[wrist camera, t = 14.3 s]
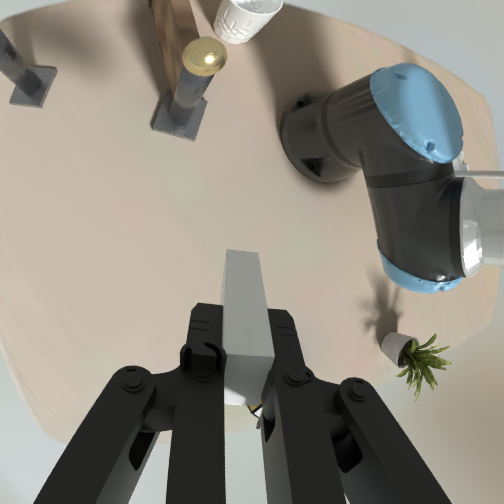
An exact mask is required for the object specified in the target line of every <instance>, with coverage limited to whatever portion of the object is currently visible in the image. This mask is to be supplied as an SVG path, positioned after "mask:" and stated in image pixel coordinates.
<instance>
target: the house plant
mask: <svg viewBox="0 0 504 504" xmlns="http://www.w3.org/2000/svg"><path fill="white" fill-rule="evenodd" d="M435 339H436V334H434V335H433V336H432V338H431V339H430V340H429V341H428V342H427V343H426V344H424V345H422V346H419V342H418V339H417V338H415V337H411V336H407V335H403V334H399V333H396V332H390V333H388V334H387V335H386V336H385V337H384V339H383V341H382V343H381V351H382V352H383V353H384V354H385V355H386V356H387V357H388V358H389V359H390V360H391V361H392V362H393V363H395V364H396V365H397V366H398V367H399V368H404V367H406V366H408V367H407V369H406V370H403V371H402V372H401V373H400V374H399V375H397V377H402V376H404V375H405V374H406V373H407V372H408V370H409V373H408V378H407V383H406V384H408V383H409V382H410V385H409V387H410V386H411V384H412V383H413V382H414V381H416V379H417V382H416V383H415V384H414V385H413V386H415V385H416V384H417V390H416V392H417V391H418V394H417V397H416V400H417V398H418V396H419V393H420V389H421V382H422V378H423V375H424V377H425V379H426V381H427V382H428V383H429V384H430V386H431V389H432V390H433V387H434V384H433V382H434V383H435V384H436V385H437V382H436V380H435V378H434V376H433V374H432V372H431V370H430V369H429V367H428V366H430V367H432V368H437V369H442V370H446V369H445V368H443V367H441V366H442V365H450V364H452V363H451V362H449V361H446V360H443V359H441V358H439V357H436V356H434V355H432V354H435V353H439V352H442V351H444V350H446V349H447V348H449V347H450V346H451V345H450V346H447V347H445V348H440V349H437V350H433V348H434V347H433V346H431V348H430V349H431V350H429V349H426V350H418V349H422V348H425V347H427V346H429V345H431V344H432V343H433V342H434V341H435ZM439 344H440V343H439ZM439 344H438V345H439ZM438 345H436V346H438ZM436 346H435V347H436ZM439 356H440V355H439ZM427 365H428V366H427ZM412 367H413V369H412ZM418 367H419V368H418ZM419 369H420V371H421V376H420V372H419ZM413 370H414V372H413ZM413 373H415V377H414V380H413V382H412V377H413ZM416 392H415V394H416Z"/></svg>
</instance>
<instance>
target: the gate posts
mask: <svg viewBox="0 0 504 504" xmlns="http://www.w3.org/2000/svg"><path fill="white" fill-rule="evenodd" d="M182 59H183V67H182V70H181V74H180V77H179V80H178V84H177V87H176V91H175V95H174V98H173V97H172V93H171V90H167V91H166V93H165V96H164V99H163V101H162V104H161V107H160V109H159V112H158V115H157V117H156V120H155V123H154V126H153V130H154V131H158V132H162V133H166V134H170V135H173V136H177V137H181V138H184V139H188V140H191V141H195V138H196V135H197V132H198V129H199V126H200V123H201V120H202V117H203V114H204V111H205V108H206V105H207V102H208V101H206V100H203V99H201V98H202V96H203V94H204V92H205V90H206V89H207V87H208V85H209V83H210V82H211V80H212V78H213V76H214V75H215V74H216V73H217V72H219V71H220V70H221V69H222V68H223V66H224V65H225V63H226V60H227V51H226V48H225V47H224V45H223V44H222V43H221V42H220V41H219V40H217V39H215V38H212V37H200V38H197V39H194V40H193V41H191V42H190V43H189V44H188V45H187V46H186V48H185V49H184V52H183V58H182ZM0 71H1V72H2V73H3V74H4V75H5V76H6V77H8V78H9V79H10V80H11V81H12V82H13V83H14V84H15V85H16V87H15V90H14V92H13V94H12V97H11V99H10V102H9V103H10V104H12V105H20V106H29V107H36V108H42V106H43V103H44V101H45V98H46V96H47V94H48V91H49V89H50V87H51V84H52V82H53V80H54V78H55V76H56V73H57V70H56V69H51V68H40V67H30V66H29V65H28V64H27V63H26V61H25V60H24V59H23V58H22V56H21V55H20V54H19V52H18V51H17V50H16V49H15V47H14V46H13V45H12V44H11V42H10V41H9V40H8V38H7V37H6V36H5V34H4V33H3V32H2V31H1V29H0Z"/></svg>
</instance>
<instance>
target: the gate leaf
mask: <svg viewBox="0 0 504 504" xmlns="http://www.w3.org/2000/svg"><path fill="white" fill-rule="evenodd" d="M148 5H149V7H152V12H153V16H154V21H155V26H156V30H157V35H158V39H159V43H160V48H161V52H162V56H163V60H164V65H165V69H166V73H167V77H168V81H169V85H170V89H171V93H172V97H173V98H174V95H175V91H176V87H177V84H178V80H179V77H180V74H181V70H182V67H183V59H182V58H183V52H184V49H185V48H186V46H187V45H188V44H189V43H190V42H191V41H193V40H194V39H197V38H200V36H199V33H198V29H197V26H196V22H195V19H194V16H193V12H192V9H191V5H190V2H189V0H148Z"/></svg>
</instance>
